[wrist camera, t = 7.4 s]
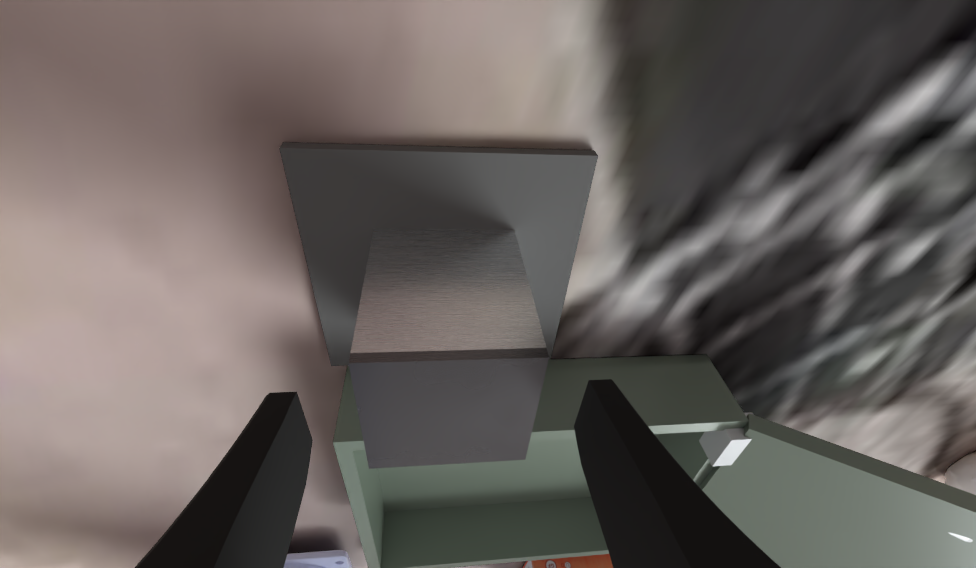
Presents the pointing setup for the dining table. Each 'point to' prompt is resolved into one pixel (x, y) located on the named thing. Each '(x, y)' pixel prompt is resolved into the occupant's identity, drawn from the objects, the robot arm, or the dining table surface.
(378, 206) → the pad
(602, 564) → the cracker box
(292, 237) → the dining table surface
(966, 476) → the white creature statuette
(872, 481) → the case
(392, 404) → the block
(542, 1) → the dining table surface
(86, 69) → the dining table surface
